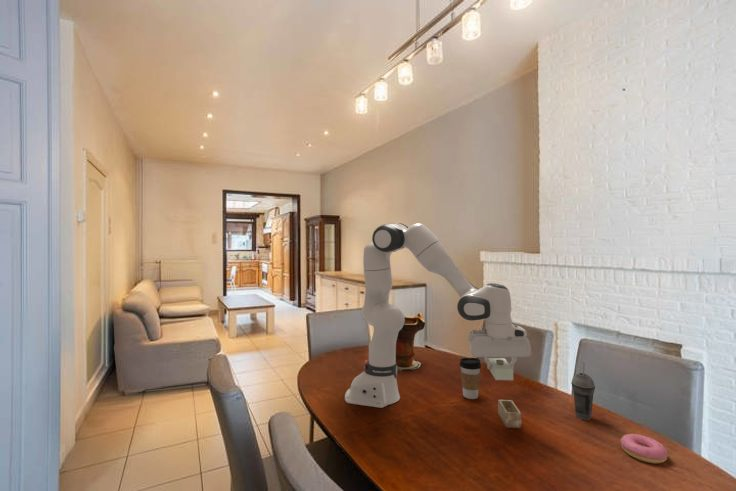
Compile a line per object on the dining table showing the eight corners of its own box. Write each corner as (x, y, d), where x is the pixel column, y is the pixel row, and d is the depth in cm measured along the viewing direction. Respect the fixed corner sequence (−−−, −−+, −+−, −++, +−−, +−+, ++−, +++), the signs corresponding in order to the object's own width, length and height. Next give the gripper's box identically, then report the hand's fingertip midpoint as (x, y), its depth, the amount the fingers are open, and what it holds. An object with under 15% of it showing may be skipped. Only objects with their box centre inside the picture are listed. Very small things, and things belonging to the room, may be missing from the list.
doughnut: (678, 463, 97) (678, 448, 97) (647, 469, 95) (646, 453, 95) (640, 442, 107) (640, 428, 108) (611, 446, 105) (611, 433, 105)
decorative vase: (430, 371, 168) (427, 314, 169) (384, 373, 169) (380, 316, 169) (424, 357, 189) (421, 307, 189) (382, 359, 189) (379, 309, 190)
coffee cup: (482, 401, 136) (482, 363, 136) (460, 399, 138) (460, 362, 138) (479, 392, 144) (479, 356, 144) (459, 390, 146) (458, 355, 146)
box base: (506, 427, 116) (505, 412, 116) (498, 413, 126) (498, 399, 126) (521, 428, 116) (521, 413, 116) (512, 413, 126) (512, 400, 126)
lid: (495, 380, 116) (495, 366, 116) (488, 367, 126) (488, 355, 126) (513, 380, 115) (513, 366, 115) (505, 367, 126) (504, 355, 125)
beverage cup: (592, 414, 125) (591, 359, 125) (598, 423, 118) (597, 365, 118) (569, 411, 127) (568, 357, 128) (574, 420, 121) (573, 363, 121)
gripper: (469, 332, 119) (471, 372, 119) (531, 331, 116) (533, 372, 116) (467, 327, 125) (468, 365, 125) (525, 327, 122) (527, 365, 123)
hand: (500, 368), depth 121 cm, fingers closed on lid, 6 cm apart
